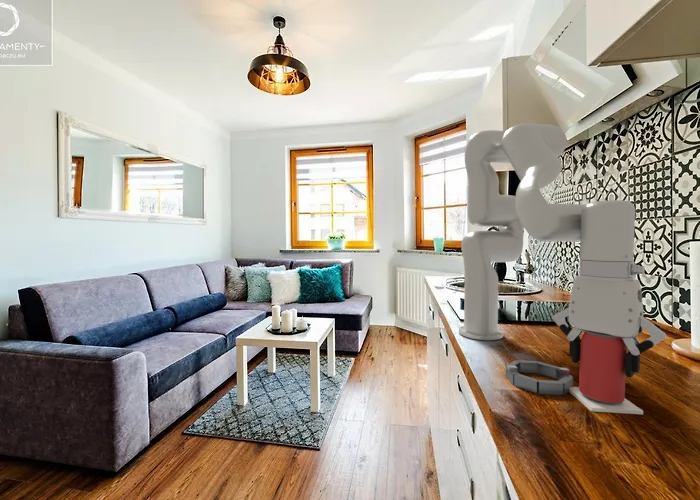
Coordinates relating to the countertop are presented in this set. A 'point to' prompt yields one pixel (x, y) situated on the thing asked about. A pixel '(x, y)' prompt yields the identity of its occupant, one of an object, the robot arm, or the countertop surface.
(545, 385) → the collar
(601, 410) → the plate
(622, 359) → the beer can
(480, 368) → the countertop surface
